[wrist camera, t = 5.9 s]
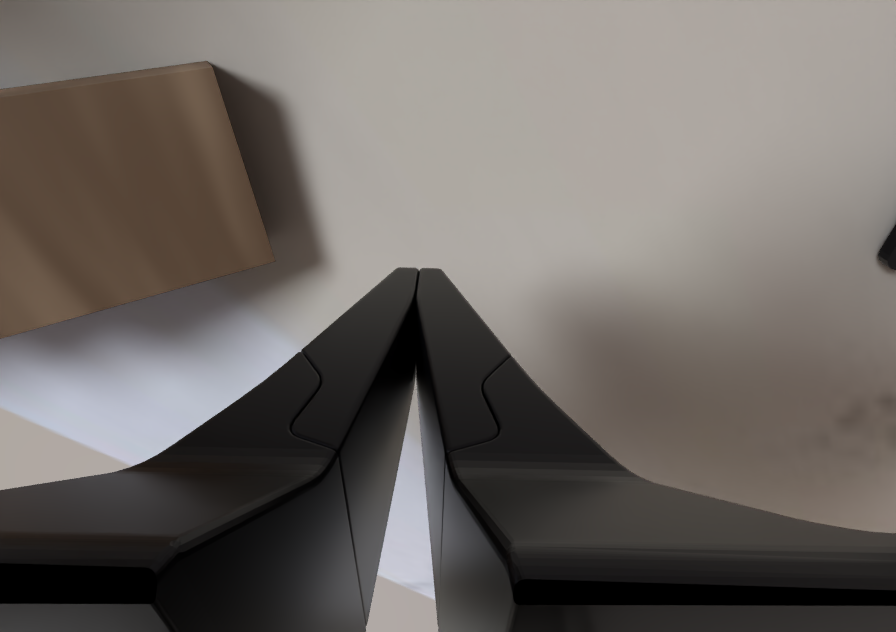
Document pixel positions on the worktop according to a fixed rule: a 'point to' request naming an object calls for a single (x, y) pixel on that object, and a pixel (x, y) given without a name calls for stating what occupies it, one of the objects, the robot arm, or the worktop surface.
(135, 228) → the domino
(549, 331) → the worktop surface
